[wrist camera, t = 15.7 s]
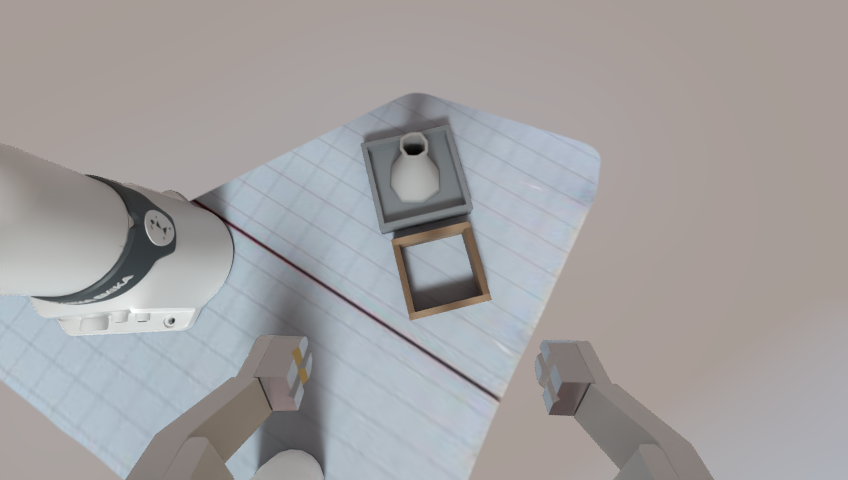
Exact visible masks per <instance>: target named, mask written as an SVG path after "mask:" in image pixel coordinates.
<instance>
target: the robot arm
mask: <svg viewBox="0 0 848 480" xmlns="http://www.w3.org/2000/svg"><path fill="white" fill-rule="evenodd" d="M232 260H233V244H232V239H231V236H230V233H229V231H228V229H227V228H226V226H225V225H224V223H223V222H222V221H221V220H220V219H219V218H218V217H217V216H216V215H214V214H213V213H211V212H209V211H207V210H205V209H202V208H200V207H197V206H194V205H192V204H191V203H190V202H189V201H188V200H187V199H186V198H185V197H184V196H182V195H181V194H180V193H178V192H175V191H171V190H169V191H165V192H163V193H160V192H156V191H153V190H150V189H147V188H144V187H141V186H138V185H135V184H131V183H124V184H121V183H118V182H116V181H113V180H109V179H105V178H102V177H98V176H94V175H83V174H80V173H78V172H75V171H73V170H70V169H68V168H65V167H63V166H60V165H58V164H55V163H53V162H50V161H48V160H45V159H43V158H40V157H38V156H35V155H33V154H30V153H28V152H25V151H23V150H20V149H18V148H15V147H12V146H9V145H5V144H1V143H0V296H29V298H30V301H31V304H32V306H33V308H34V309H35V311H36V312H37V313H38V314H39V315H41V316H42V317H44V318H57V320H58V322H59V324H60V325H61V327H62V328H63V330H64V331H65V332H66V333H67V334H68V335H72V336H86V335H106V334H126V333H145V332H164V331H183V330H188V329H189V328H191V327H192V326H193V325H194V323H195V321H196V320H197V318H198V316H199V314H200V311H201V309H202V307H203V306H204V305H205V304H206V303H207V302H208V301H209V300H210V299H211V298H212V297H213V296H214V295H215V294H216V293H217V292H218V290H219V289H220V288H221V286H222V285H223V284H224V282H225V280H226V278H227V276H228V274H229V272H230V269H231V265H232ZM173 318H174V319H175V322H174V324H173V323H172V320H173ZM308 344H309V343H308V340H307V337H304V336H281V335H261V336H260V337H258V338H257V340H256V342H255V343H254V345H253V347H252V349H251V351H250V353H249V354H248V356H247V358H246V360H245V362H244V364H243V365H242V367H241V369H240V371H239V373H238V375H237V376H236V377H231V378H230V379H229V380H227V381H226V382H225V383H223V384H222V385H221V386H219V387H218V388H217V389H215V390H214V391H213V392H211V393H210V394H209V395H207V396H206V397H205V398H203V399H202V400H201V401H199V402H198V403H197V404H195V405H194V406H193V407H192V408H190V409H189V410H188V411H186V412H185V413H184V414H182V415H181V416H180V417H178V418H177V419H176V420H174V421H173V422H172V423H170V424H169V425H168V426H166V427H165V428H164V429H162V430H161V431H160V432H158V433H157V434H156V435H155V436H154V438H153V439H152V441H151V442H150V444H149V445H148V447H147V448H146V450H145V451H144V453H143V454H142V456H141V457H140V459H139V460H138V462H137V463H136V465H135V466H134V468H133V469H132V471H131V472H130V474H129V475H128V477H127V478H126V480H234V478H233V475H232V474H231V472H230V471H229V469H228V468H227V467H226V465H225V463H226V462H227V460H228V459H229V458H230V457H231V456H232V455H233V454H234V453H235V452H236V451H237V450H238V449H239V448H240V447H241V445H242V444H243V443H244V442H245V441H246V440H247V439H248V438H249V437H250V436H251V435H252V434H253V433H254V432H255V430H256V429H257V428H258V427H259V426H260V425H261V424H262V423H263V422H264V421H265V420H266V419H267V418H268V417H269V415H270V414H271V413H272V411H298V409H299V406H300V403H301V400H302V397H303V394H304V389H303V384H304V383H305V382H306V381H307V380H308V379H309V376H310V373H311V368H312V354H311V351H309V350H308V349H307V346H308ZM540 349H541V353H540V354H539V355H538V356H537V358H536V361H535V372H536V377H537V380H538V383H539V384H540V385H541V386H542V387H543V388H544V389H545V390H544V392H543V395H542V396H543V399H544V402H545V406H546V409H547V412H548V414H549V415H564V416H565V415H566V416H574V418H575V419H576V420H577V421H578V422H579V424H580V425H581V426H582V427H583V428H584V429H585V431H586V432H587V433H588V434H589V435H590V436H591V437H592V438H593V440H594V441H595V442H596V443H597V444H598V445H599V446H600V448H601V449H602V450H603V451H604V452H605V453H606V454H607V455H608V457H609V458H610V459H611V460H612V461H613V462H614V463H615V465H616V466H617V467H618V468H619V469H620V472H619V473H618V474H617V476H616V477H615V478H614V480H714V479H713V477H712V476H711V474H710V473H709V471H708V469H707V468H706V466H705V465H704V463H703V461H702V460H701V458H700V457H699V456H698V454H697V452H696V450H695V449H694V447H693V446H692V444H691V443H689V442H688V441H687V440H686V439H684V438H683V437H682V436H681V435H680V434H678V433H677V432H676V431H675V430H673V429H672V428H671V427H670V426H668V425H667V424H666V423H665V422H663V421H662V420H661V419H659V418H658V417H657V416H656V415H654V414H653V413H652V412H651V411H650V410H648V409H647V408H646V407H645V406H643V405H642V404H641V403H640V402H638V401H637V400H636V399H635V398H633V397H632V396H631V395H629V394H628V393H627V392H626V391H625V390H623V389H622V388H621V387H620V386H618V385H617V384H612V383H611V381H610V379H609V377H608V376H607V374H606V372H605V370H604V368H603V366H602V364H601V362H600V360H599V358H598V357H597V355H596V353H595V351H594V349H593V347H592V345H591V344H590V343H589V342H588V341H571V340H543V341H542V342H541V345H540Z"/></svg>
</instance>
